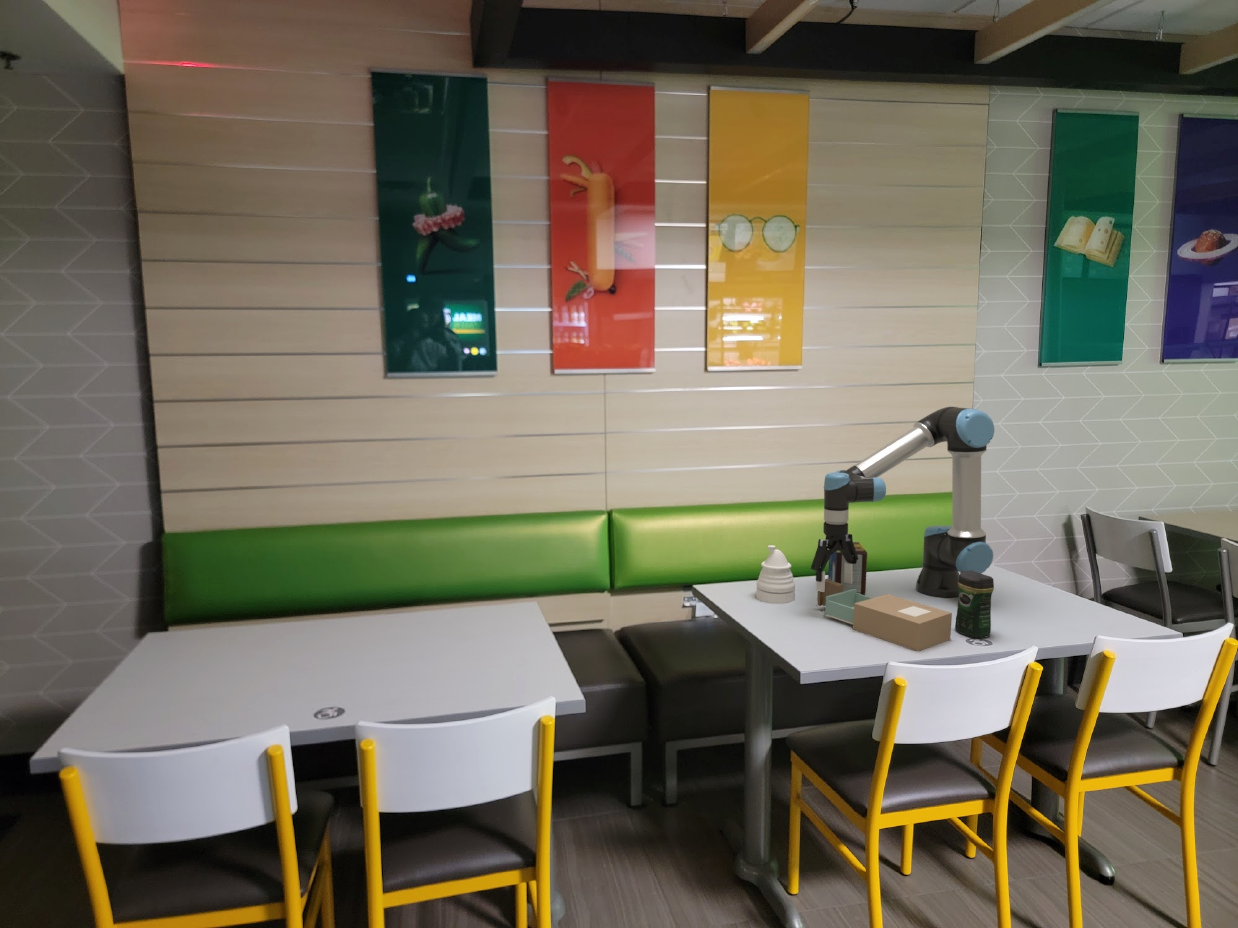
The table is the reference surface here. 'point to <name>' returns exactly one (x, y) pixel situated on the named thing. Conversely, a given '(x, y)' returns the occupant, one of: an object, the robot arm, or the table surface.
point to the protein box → (858, 570)
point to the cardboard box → (902, 621)
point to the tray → (839, 601)
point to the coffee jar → (974, 604)
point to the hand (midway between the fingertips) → (834, 586)
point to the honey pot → (775, 579)
